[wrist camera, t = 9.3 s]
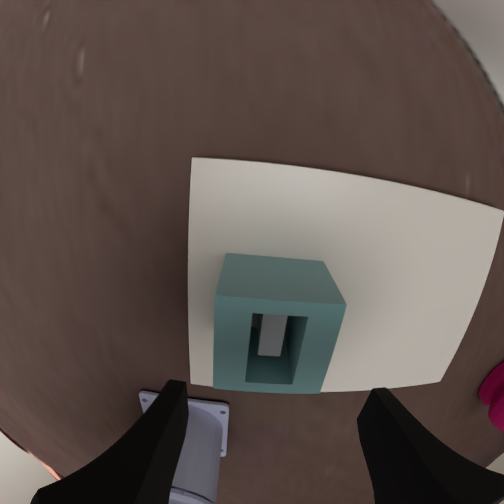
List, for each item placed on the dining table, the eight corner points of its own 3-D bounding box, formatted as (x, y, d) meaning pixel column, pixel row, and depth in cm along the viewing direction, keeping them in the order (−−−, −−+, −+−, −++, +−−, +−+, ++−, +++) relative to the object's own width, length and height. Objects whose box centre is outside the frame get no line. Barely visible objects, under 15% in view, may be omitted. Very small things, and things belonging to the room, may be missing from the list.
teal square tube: (306, 339, 19) (319, 393, 14) (221, 333, 18) (212, 388, 14) (323, 261, 17) (346, 304, 12) (226, 252, 17) (214, 295, 12)
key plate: (434, 373, 22) (454, 406, 17) (193, 373, 21) (182, 417, 17) (494, 207, 16) (534, 224, 12) (196, 156, 16) (174, 160, 12)
